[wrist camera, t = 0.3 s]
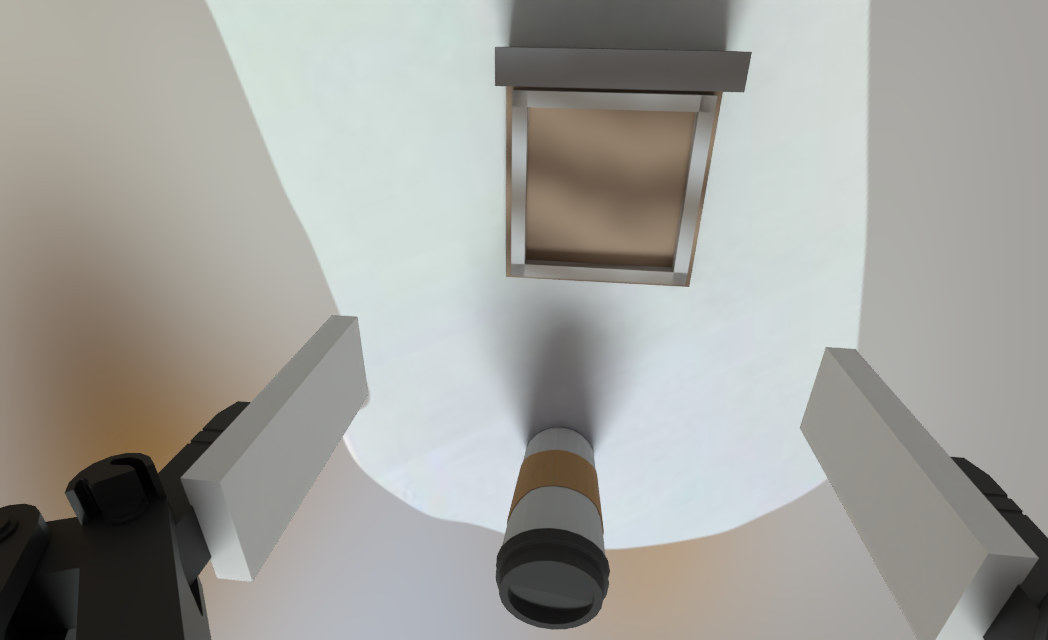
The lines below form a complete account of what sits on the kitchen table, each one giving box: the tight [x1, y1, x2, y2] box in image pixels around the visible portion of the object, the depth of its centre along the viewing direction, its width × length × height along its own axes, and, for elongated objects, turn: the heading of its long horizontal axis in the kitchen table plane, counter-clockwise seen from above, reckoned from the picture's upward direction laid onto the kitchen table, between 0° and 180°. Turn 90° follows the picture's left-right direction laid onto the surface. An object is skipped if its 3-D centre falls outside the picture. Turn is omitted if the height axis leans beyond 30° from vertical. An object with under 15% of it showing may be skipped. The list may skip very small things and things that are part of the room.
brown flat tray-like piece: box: [495, 47, 752, 287], centre depth 36 cm, size 16×14×6 cm
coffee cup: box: [496, 427, 610, 629], centre depth 44 cm, size 8×8×15 cm
